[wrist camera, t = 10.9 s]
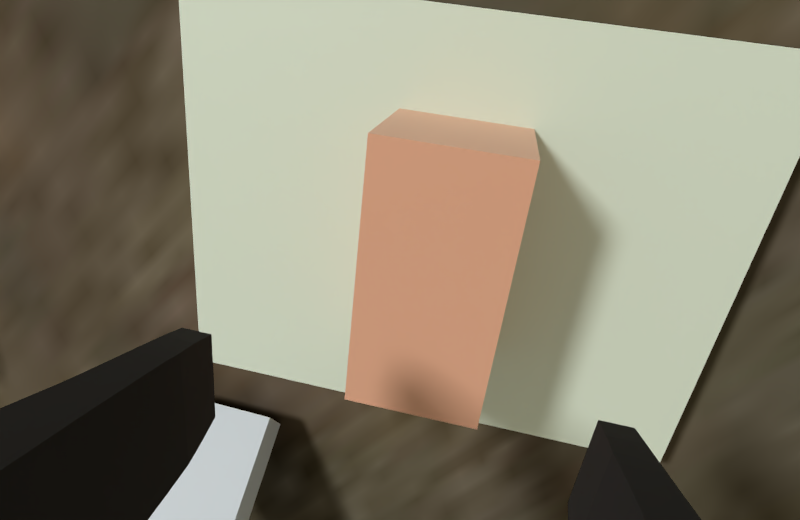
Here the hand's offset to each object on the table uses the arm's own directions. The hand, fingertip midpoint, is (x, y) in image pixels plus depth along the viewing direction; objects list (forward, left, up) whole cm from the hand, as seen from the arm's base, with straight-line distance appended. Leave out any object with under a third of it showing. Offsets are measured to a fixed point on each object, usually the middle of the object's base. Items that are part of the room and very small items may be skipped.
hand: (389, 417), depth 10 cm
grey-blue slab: (-12, +8, -7) cm, 16 cm away
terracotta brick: (0, 0, -8) cm, 8 cm away
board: (0, 0, -9) cm, 9 cm away
